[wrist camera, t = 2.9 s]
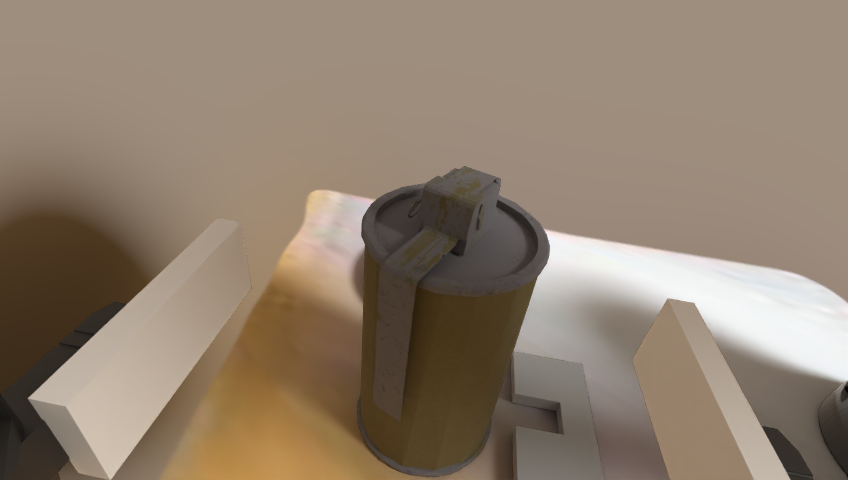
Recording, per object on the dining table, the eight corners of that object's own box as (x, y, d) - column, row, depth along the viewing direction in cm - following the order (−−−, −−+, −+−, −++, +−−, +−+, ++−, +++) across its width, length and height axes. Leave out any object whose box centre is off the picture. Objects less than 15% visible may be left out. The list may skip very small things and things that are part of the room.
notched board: (577, 372, 38) (582, 364, 38) (602, 512, 29) (608, 504, 28) (510, 360, 39) (513, 351, 38) (513, 494, 29) (517, 485, 29)
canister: (407, 339, 40) (430, 130, 28) (511, 397, 36) (588, 182, 24) (324, 428, 32) (311, 190, 20) (445, 516, 28) (514, 281, 16)
